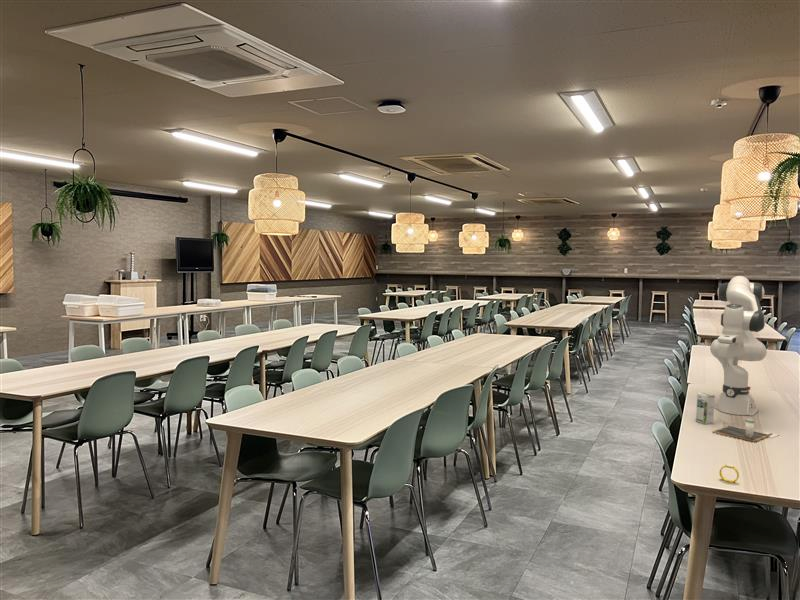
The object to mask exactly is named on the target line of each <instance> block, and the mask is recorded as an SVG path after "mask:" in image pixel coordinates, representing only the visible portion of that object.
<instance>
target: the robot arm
mask: <svg viewBox="0 0 800 600" xmlns="http://www.w3.org/2000/svg"><path fill="white" fill-rule="evenodd" d="M716 292H717V297H718V299H719V301H721V302H724V303H727V302H729V303H728V304H726V305H725V307H724V311H723V312H722V313H721V314H720V325H721V326H722V330H721V334H720V335H719V336H718V337H717V338H716V339H714V340H713V341H711V342H710V345H709V347H710V349H709V350H710V353H711V354H712V356H713V357H714V358H715V359H717V360H718V362H719V363H720V364H721V366H722V369H723V385H722V387H721V388H722V392H721V393H719V398H718V405H715V410H718V411H720V412H721V413H726V414H729V415H736V416H737V415H738V416H752V417H753V416H755V415H756V414H757V413H758V412H759V409H758V408H755V407H754V406H755V405H754V404H755V403H754V402H755V401H754V399H753V398H752V397H751V395H750V390H751V389H752V388H751V386H748V385H749V372H748V371H747V370H746V369H745V368H744V367H741V366H740V365H739V364H738V362H739V361H744V362H757V361H758V362H760V361H762V360H764V359H765V358H766V355H767V347H766V345H765V344H764V343H763V342H762V341H760V340H759V339H757V337H755V335H754V334H753V332H754V333H758V332H761V331H762V330H763V329H765V326H766V318H765V315H764V313H763V310H762V307H761V303H760V302H761V301H763V298H764V296H765V288H764V286H763V284H762V283H759V282H750V280H749V279H748V278H747V277H746V276H743V275H737V276H733V277H732V278H731V279H730V281H729V282H724V283H721V284H719V286H718V288H717V291H716Z"/></svg>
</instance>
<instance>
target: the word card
mask: <svg viewBox="0 0 800 600" xmlns="http://www.w3.org/2000/svg"><path fill="white" fill-rule="evenodd" d="M763 433H764V434H768V435H770V436H769V437H770V439H773V437H774V438H777V437H779V436H778V435H779V433H778V434H777V433H772V432H768V431H766V432H763ZM769 437H768V438H769Z"/></svg>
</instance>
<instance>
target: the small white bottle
mask: <svg viewBox="0 0 800 600" xmlns="http://www.w3.org/2000/svg"><path fill="white" fill-rule="evenodd" d="M755 420H756V419H753V418H749V417H748V418H747V417H746V418H745V428H744V429H745V435H746V437H748V438H752V436H753V433H754V430H755V422H756V421H755Z"/></svg>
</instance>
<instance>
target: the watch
mask: <svg viewBox="0 0 800 600" xmlns="http://www.w3.org/2000/svg"><path fill="white" fill-rule="evenodd" d="M724 468H728V469H733V470H734V471H735V473H736V478H735V479H734V480H731V479H726V478H725V477H724V476H723V474H722V470H723V469H724ZM718 473H719V477H720V478H721V479H722V481H724V480H725V482H728V481H729V482H730V483H732V482H733V483H736V482H737V480H738V479H739V477H740V472H739V471H738V468H736V466H735V465H733V464H731V463H726V464H724V465H723V466H722V467H721V468H720V469H719V472H718Z"/></svg>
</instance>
